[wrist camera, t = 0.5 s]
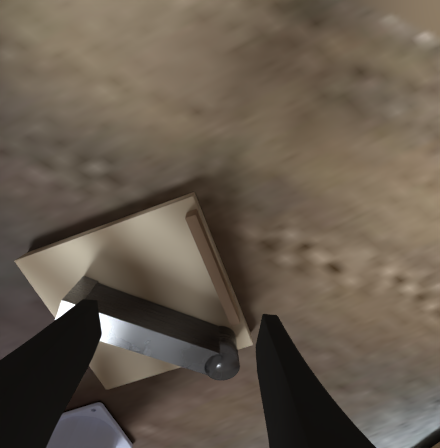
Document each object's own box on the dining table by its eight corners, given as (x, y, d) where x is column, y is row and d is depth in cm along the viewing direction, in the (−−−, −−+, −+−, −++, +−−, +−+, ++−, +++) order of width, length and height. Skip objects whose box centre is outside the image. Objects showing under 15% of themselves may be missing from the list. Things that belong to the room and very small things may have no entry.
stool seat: (112, 376, 26) (100, 405, 23) (27, 252, 21) (-1, 270, 18) (250, 333, 25) (255, 358, 22) (194, 191, 20) (191, 200, 17)
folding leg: (241, 331, 23) (246, 361, 20) (227, 353, 24) (230, 385, 20) (84, 274, 20) (61, 298, 17) (74, 301, 21) (52, 329, 18)
